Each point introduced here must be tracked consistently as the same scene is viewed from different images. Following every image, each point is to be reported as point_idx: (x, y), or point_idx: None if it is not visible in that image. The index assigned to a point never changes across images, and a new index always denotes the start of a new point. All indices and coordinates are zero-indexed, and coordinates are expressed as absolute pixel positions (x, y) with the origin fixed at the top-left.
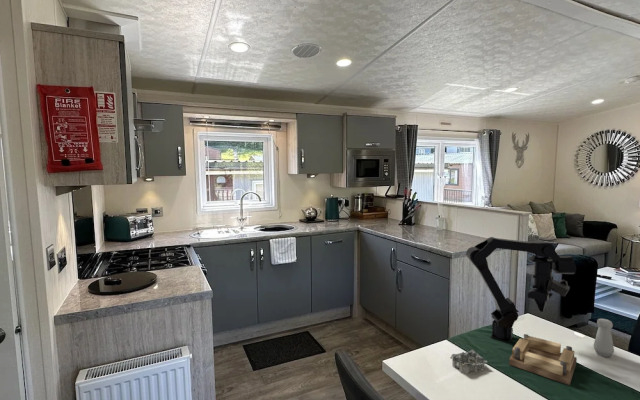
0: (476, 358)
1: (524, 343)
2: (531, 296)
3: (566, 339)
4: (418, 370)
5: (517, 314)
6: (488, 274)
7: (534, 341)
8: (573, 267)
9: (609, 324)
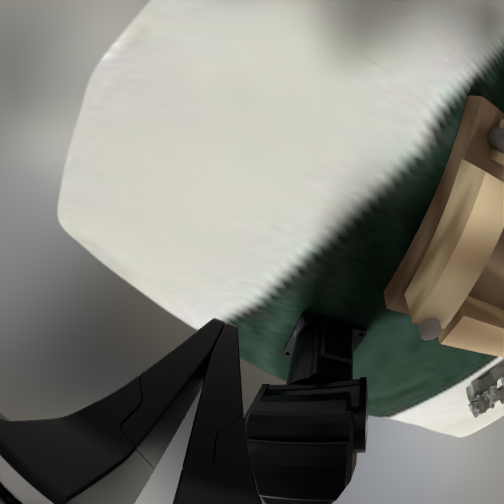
0: (486, 388)
1: (481, 331)
2: None
3: (190, 77)
4: (484, 419)
5: (352, 428)
6: None
7: (464, 295)
8: None
9: None
